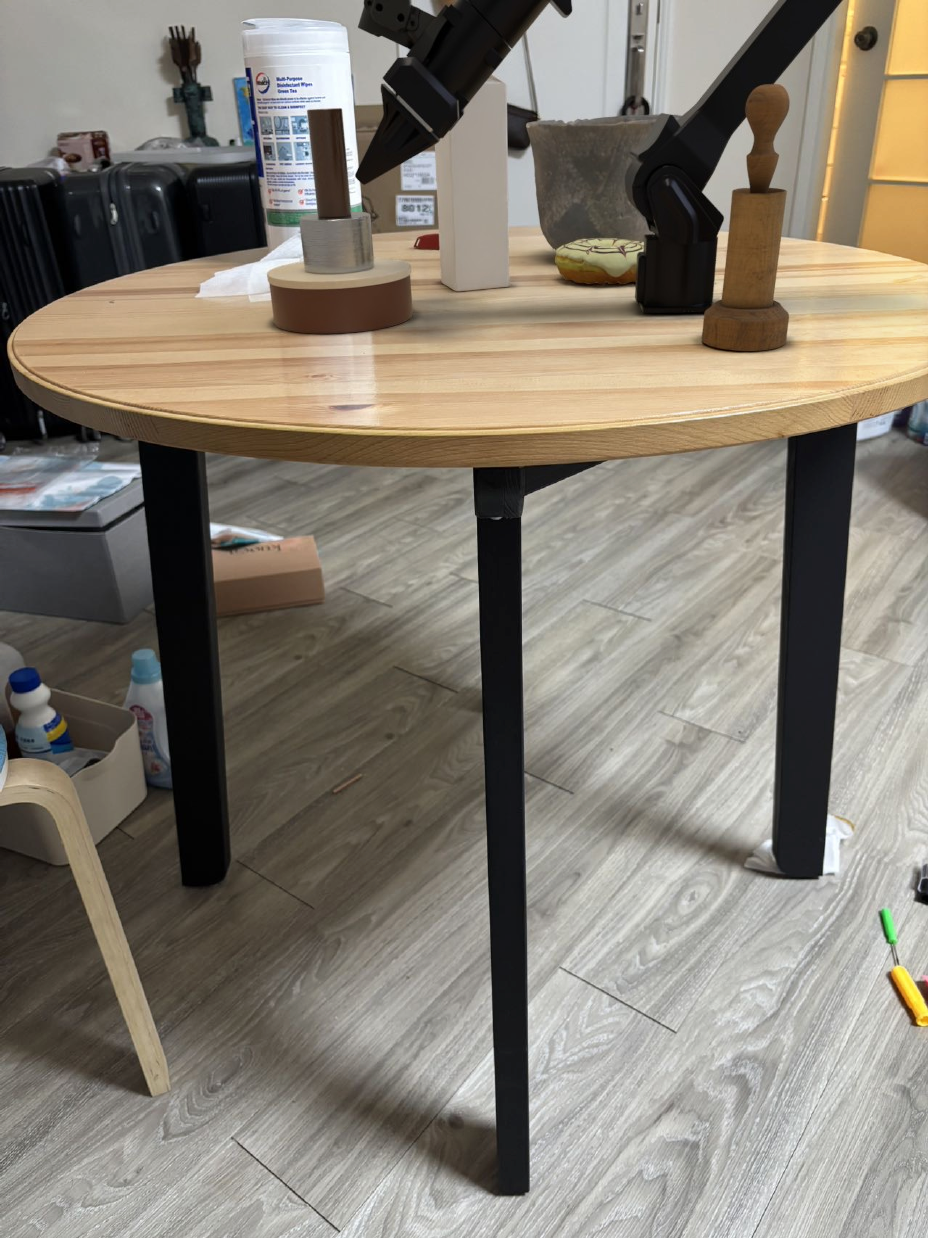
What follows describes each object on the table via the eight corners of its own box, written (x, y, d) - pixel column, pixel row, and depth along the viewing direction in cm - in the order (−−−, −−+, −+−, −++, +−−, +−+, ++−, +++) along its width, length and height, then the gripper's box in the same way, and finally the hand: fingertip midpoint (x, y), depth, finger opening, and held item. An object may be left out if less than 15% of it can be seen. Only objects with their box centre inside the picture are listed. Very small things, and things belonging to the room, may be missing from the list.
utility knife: (498, 248, 126) (497, 232, 125) (495, 249, 125) (495, 233, 125) (415, 247, 130) (414, 231, 129) (412, 248, 129) (411, 232, 128)
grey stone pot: (550, 245, 127) (551, 117, 120) (685, 246, 122) (694, 112, 115) (510, 267, 113) (508, 123, 105) (662, 270, 107) (670, 118, 100)
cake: (422, 303, 96) (419, 255, 94) (402, 332, 85) (398, 279, 82) (293, 305, 97) (287, 258, 95) (256, 335, 86) (248, 282, 84)
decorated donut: (628, 290, 98) (629, 251, 96) (537, 283, 103) (537, 245, 101) (671, 273, 105) (674, 236, 103) (584, 267, 111) (585, 232, 109)
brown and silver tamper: (388, 266, 89) (376, 106, 82) (332, 276, 85) (315, 109, 79) (346, 260, 93) (332, 107, 87) (291, 269, 89) (272, 110, 83)
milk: (455, 292, 101) (444, 47, 90) (440, 283, 106) (428, 49, 95) (511, 286, 102) (506, 44, 91) (493, 277, 107) (487, 47, 96)
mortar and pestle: (774, 354, 73) (806, 83, 64) (690, 347, 76) (710, 86, 67) (794, 335, 78) (826, 81, 69) (715, 329, 81) (736, 84, 72)
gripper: (420, -44, 85) (311, 104, 91) (402, -75, 69) (271, 108, 74) (511, 55, 88) (401, 191, 94) (515, 47, 72) (381, 213, 78)
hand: (365, 176), depth 85 cm, fingers open, 9 cm apart
